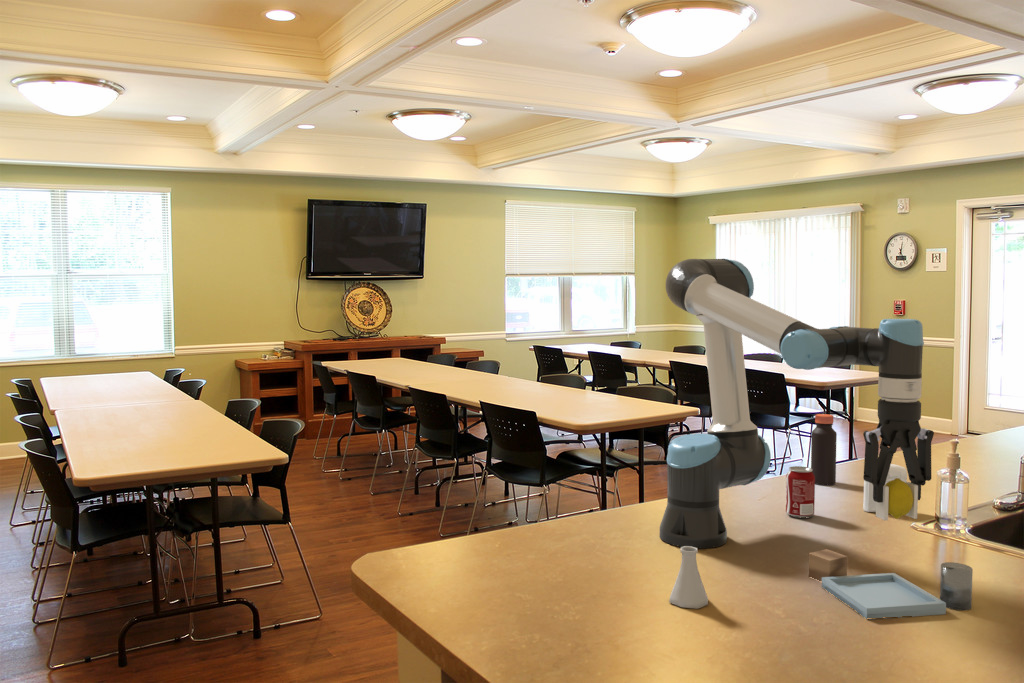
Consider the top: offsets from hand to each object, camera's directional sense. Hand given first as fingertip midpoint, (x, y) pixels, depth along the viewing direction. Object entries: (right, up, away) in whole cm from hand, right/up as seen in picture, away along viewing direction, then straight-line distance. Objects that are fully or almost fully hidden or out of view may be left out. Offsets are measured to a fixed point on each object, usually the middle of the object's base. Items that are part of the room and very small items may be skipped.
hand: (896, 517), depth 155 cm
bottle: (+16, -7, +78) cm, 81 cm away
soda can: (-2, -10, +46) cm, 47 cm away
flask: (-42, -14, -8) cm, 45 cm away
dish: (-7, -13, -8) cm, 17 cm away
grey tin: (+6, -14, -11) cm, 18 cm away
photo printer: (+21, -10, +49) cm, 54 cm away
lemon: (0, -1, 0) cm, 1 cm away
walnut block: (-12, -13, +3) cm, 18 cm away
